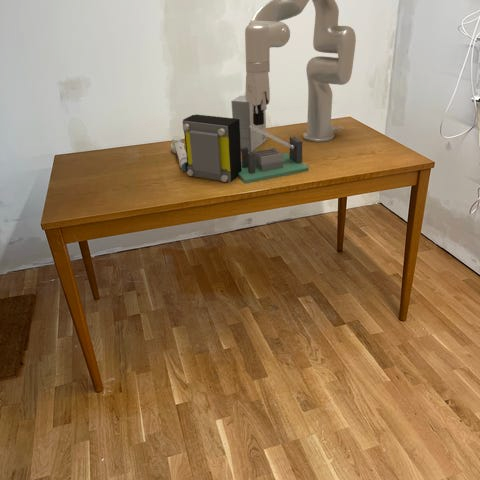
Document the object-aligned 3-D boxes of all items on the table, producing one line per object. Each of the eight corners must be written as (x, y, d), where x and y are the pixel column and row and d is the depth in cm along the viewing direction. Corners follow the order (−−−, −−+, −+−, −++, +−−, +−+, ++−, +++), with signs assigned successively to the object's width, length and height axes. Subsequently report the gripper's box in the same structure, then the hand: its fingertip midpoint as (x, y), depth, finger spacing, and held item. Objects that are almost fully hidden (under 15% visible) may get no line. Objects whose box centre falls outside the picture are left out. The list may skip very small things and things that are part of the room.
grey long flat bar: (288, 146, 168) (290, 143, 167) (294, 150, 164) (296, 147, 164) (248, 127, 158) (250, 123, 158) (253, 130, 155) (255, 126, 154)
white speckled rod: (179, 163, 165) (168, 133, 184) (180, 179, 169) (170, 148, 188) (193, 161, 166) (181, 131, 185) (195, 177, 170) (183, 146, 189)
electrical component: (185, 177, 164) (179, 121, 154) (200, 167, 172) (195, 113, 162) (228, 185, 157) (225, 127, 146) (242, 174, 164) (240, 118, 154)
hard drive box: (250, 138, 196) (248, 90, 186) (266, 140, 193) (266, 91, 183) (233, 150, 184) (230, 100, 174) (251, 153, 181) (249, 101, 171)
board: (288, 156, 176) (288, 132, 172) (308, 170, 163) (309, 145, 159) (228, 167, 169) (227, 143, 165) (245, 183, 156) (244, 157, 152)
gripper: (238, 64, 152) (240, 120, 162) (256, 72, 140) (257, 131, 149) (259, 62, 155) (259, 117, 164) (278, 69, 143) (278, 128, 152)
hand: (258, 124), depth 157 cm, fingers closed
